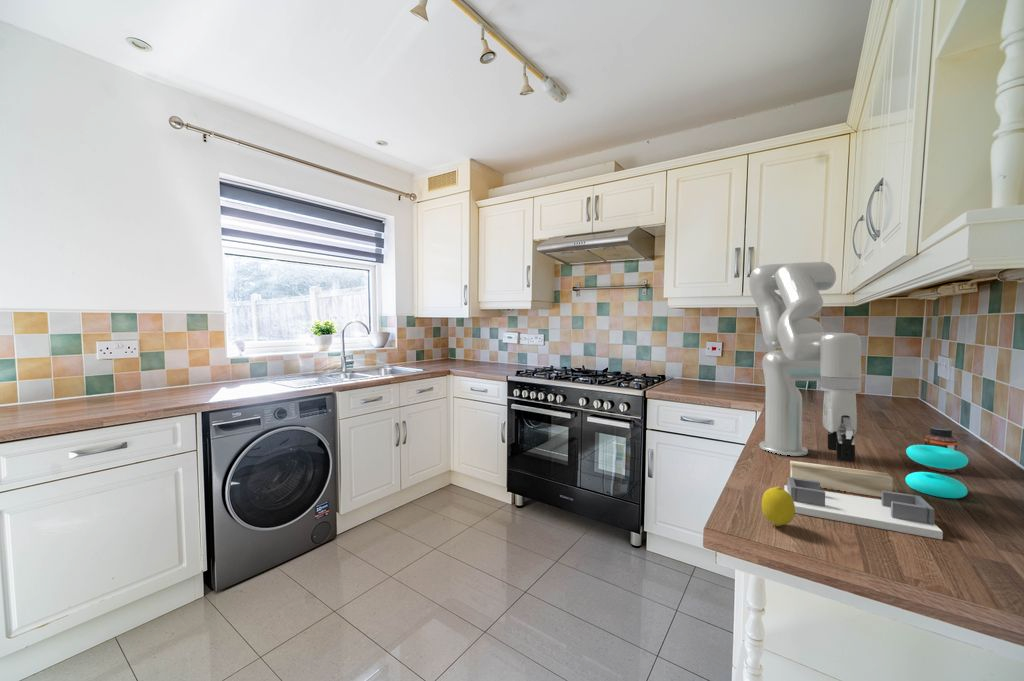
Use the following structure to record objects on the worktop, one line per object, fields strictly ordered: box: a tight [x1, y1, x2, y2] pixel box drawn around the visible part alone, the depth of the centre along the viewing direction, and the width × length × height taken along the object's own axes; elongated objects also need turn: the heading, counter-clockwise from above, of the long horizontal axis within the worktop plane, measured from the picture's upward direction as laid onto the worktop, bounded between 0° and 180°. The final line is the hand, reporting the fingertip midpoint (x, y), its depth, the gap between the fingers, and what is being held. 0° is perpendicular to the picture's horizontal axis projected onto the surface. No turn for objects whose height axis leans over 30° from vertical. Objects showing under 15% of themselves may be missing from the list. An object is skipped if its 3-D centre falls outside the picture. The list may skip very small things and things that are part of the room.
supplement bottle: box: [923, 426, 958, 474], centre depth 106 cm, size 6×6×11 cm
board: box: [783, 484, 944, 540], centre depth 83 cm, size 12×23×2 cm, turn 61°
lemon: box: [761, 486, 796, 527], centre depth 78 cm, size 6×6×8 cm
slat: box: [789, 460, 894, 498], centre depth 96 cm, size 4×19×5 cm, turn 61°
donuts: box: [905, 444, 969, 499], centre depth 93 cm, size 10×10×10 cm
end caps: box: [786, 476, 935, 525], centre depth 83 cm, size 7×22×3 cm, turn 61°
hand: (840, 455), depth 94 cm, fingers open, 9 cm apart
